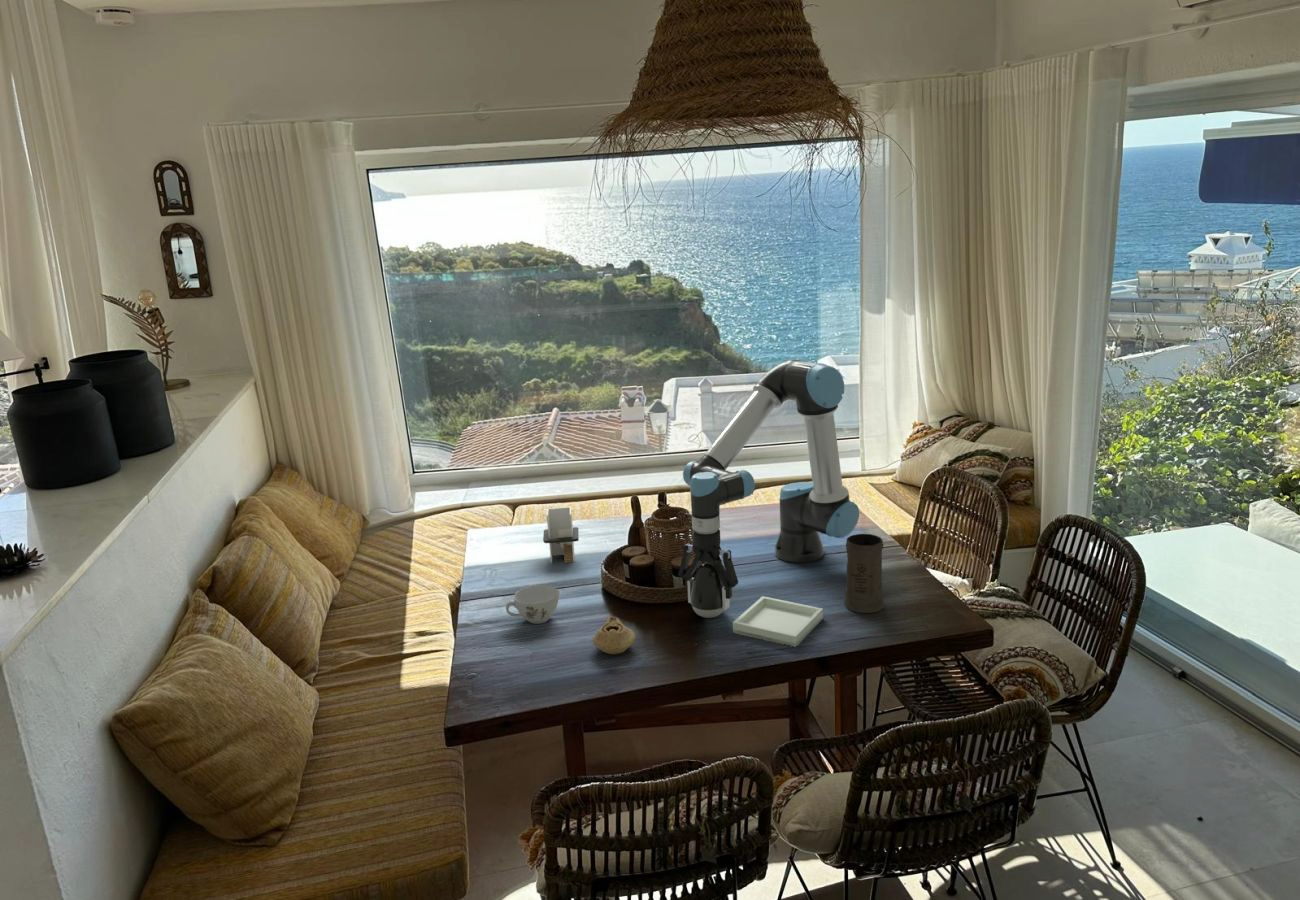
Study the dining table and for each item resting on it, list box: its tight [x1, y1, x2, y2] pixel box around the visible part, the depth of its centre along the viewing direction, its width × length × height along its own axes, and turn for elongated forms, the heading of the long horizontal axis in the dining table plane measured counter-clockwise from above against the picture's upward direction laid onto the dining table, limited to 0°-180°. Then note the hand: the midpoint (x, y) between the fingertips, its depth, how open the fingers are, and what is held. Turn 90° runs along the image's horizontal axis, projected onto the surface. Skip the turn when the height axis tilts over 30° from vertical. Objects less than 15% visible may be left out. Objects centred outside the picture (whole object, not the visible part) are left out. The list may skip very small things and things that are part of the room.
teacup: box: [505, 584, 560, 625], centre depth 262 cm, size 15×12×8 cm
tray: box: [732, 595, 824, 648], centre depth 252 cm, size 18×18×3 cm
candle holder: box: [542, 506, 580, 564], centre depth 303 cm, size 25×24×16 cm
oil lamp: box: [592, 616, 636, 655], centre depth 244 cm, size 11×15×8 cm
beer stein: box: [843, 533, 885, 614], centre depth 261 cm, size 15×11×20 cm
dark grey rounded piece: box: [689, 562, 724, 619], centre depth 259 cm, size 10×10×15 cm
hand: (708, 604), depth 261 cm, fingers closed on dark grey rounded piece, 10 cm apart
